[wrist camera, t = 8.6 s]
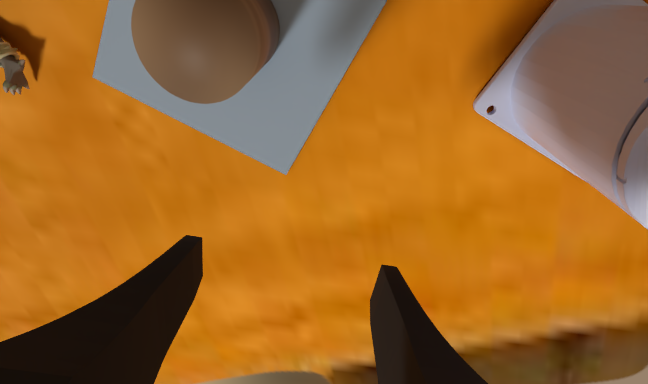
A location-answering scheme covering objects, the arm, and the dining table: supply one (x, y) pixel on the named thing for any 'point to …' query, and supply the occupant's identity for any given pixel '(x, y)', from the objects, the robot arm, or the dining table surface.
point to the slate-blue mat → (255, 77)
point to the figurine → (12, 68)
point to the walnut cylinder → (204, 44)
